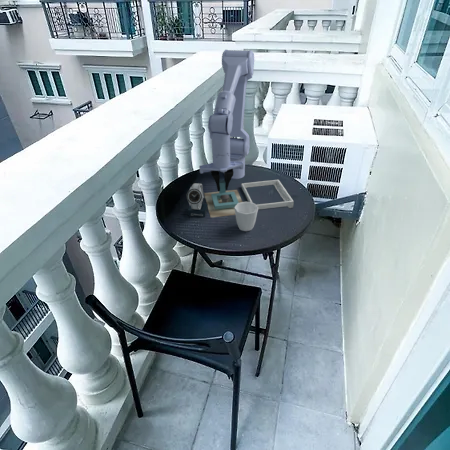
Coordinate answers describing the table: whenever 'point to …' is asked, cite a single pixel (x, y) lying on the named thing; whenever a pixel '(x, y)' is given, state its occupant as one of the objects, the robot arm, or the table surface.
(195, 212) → the watch
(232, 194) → the teal frame with handle
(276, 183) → the tray
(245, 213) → the cup
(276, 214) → the table surface
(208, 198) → the board
